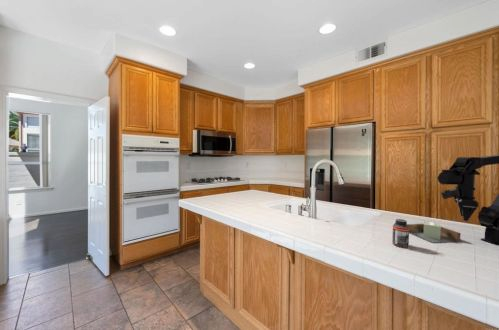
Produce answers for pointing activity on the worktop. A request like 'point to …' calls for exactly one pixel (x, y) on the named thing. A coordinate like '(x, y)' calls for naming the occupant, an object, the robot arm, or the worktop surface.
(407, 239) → the supplement bottle
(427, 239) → the corner arena
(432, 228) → the cube
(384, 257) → the worktop surface
